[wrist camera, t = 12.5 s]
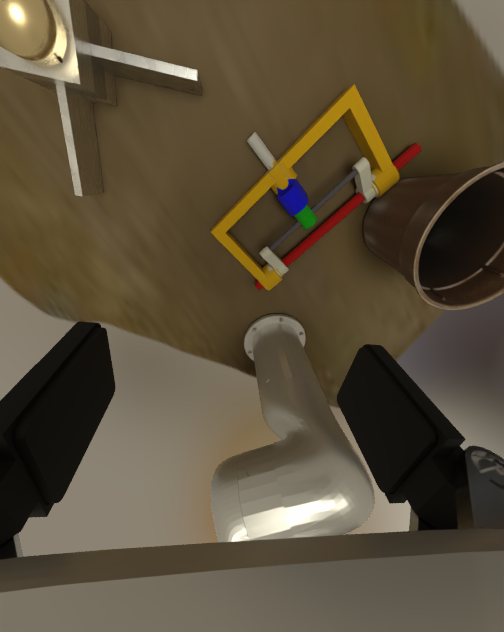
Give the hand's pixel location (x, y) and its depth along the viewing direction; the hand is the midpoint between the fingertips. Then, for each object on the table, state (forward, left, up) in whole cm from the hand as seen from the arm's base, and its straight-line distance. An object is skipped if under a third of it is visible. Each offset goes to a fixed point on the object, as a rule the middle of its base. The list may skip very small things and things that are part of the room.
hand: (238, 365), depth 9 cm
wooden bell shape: (+14, +18, -32) cm, 40 cm away
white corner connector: (+9, +13, -33) cm, 37 cm away
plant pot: (+4, -28, -34) cm, 44 cm away
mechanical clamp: (+6, -10, -34) cm, 36 cm away
